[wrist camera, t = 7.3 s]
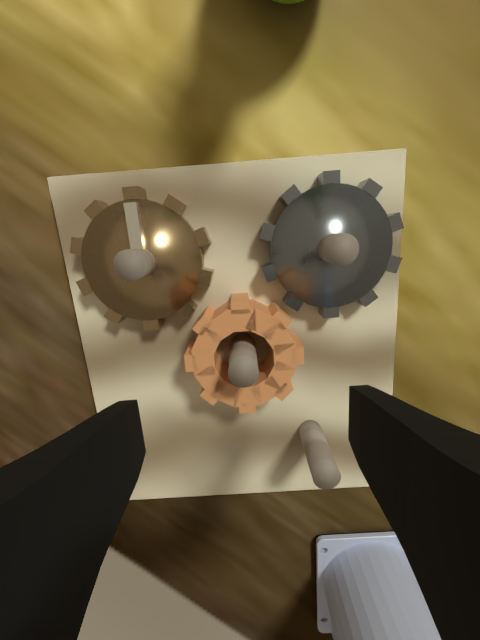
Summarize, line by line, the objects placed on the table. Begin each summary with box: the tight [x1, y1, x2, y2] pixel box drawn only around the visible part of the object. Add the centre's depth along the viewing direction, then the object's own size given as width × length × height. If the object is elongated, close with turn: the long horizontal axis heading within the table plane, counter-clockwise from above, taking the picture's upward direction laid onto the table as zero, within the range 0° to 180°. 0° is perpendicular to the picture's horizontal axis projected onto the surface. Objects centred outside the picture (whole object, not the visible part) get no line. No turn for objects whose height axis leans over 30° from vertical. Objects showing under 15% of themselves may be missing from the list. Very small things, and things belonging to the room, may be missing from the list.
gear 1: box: [70, 186, 214, 331], centre depth 16 cm, size 7×7×2 cm
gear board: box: [47, 148, 406, 500], centre depth 17 cm, size 20×18×5 cm
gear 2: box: [259, 170, 404, 318], centre depth 16 cm, size 7×7×1 cm
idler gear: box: [184, 292, 304, 414], centre depth 17 cm, size 6×6×2 cm
